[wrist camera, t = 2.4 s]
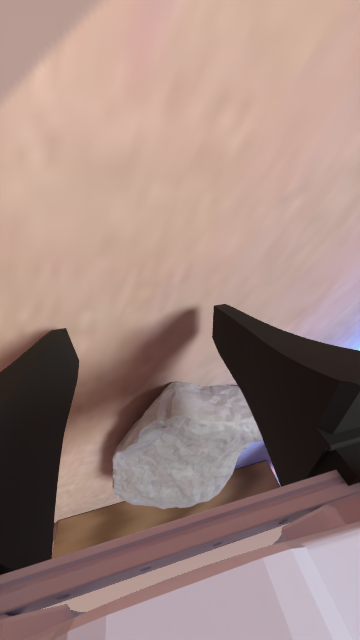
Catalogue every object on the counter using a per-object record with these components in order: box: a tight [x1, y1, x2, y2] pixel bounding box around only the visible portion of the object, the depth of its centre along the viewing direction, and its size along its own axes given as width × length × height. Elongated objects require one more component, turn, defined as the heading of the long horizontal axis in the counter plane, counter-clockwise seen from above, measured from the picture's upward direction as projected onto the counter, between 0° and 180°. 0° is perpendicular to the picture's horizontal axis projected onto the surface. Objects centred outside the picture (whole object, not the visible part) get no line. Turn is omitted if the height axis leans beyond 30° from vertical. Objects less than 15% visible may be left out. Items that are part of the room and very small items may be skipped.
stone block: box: [112, 382, 262, 509], centre depth 17 cm, size 12×5×10 cm
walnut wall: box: [52, 461, 280, 559], centre depth 23 cm, size 24×2×5 cm, turn 92°
